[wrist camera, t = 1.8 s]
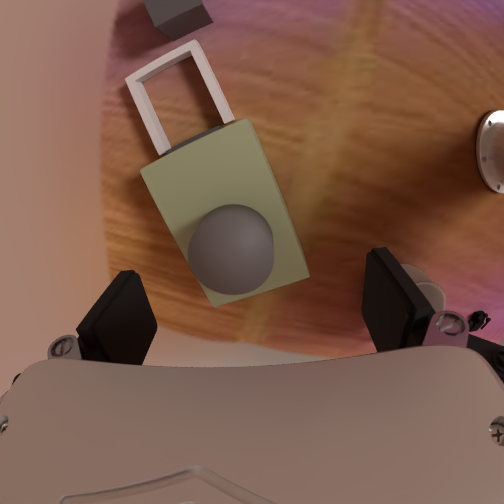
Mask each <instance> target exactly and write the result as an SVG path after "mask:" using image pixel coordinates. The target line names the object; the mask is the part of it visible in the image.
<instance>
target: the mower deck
mask: <svg viewBox="0 0 504 504" xmlns="http://www.w3.org/2000/svg"><path fill="white" fill-rule="evenodd" d="M190 56H193V58H194V60H195V62H196V64H197V66H198V68H199V70H200V72H201V74H202V77H203V79H204V81H205V83H206V85H207V87H208V89H209V91H210V94H211V96H212V98H213V100H214V102H215V104H216V107H217V109H218V111H219V113H220V115H221V117H222V120H223V122H224V124H228V123H230V122H232V121H235V118H234V116H233V114H232V112H231V110H230V107H229V105H228V103H227V101H226V99H225V96H224V94H223V92H222V90H221V88H220V86H219V84H218V81H217V79H216V77H215V75H214V73H213V71H212V69H211V67H210V65H209V63H208V60H207V58H206V56H205V54H204V52H203V50H202V48H201V46H200V44H199V43H198V42H197V41H196V40H192V41H190V42H188V43H186V44H184V45H182V46H180V47H178V48H176V49H174V50H173V51H171V52H169V53H167V54H165V55H163V56H161V57H160V58H158V59H156V60H154V61H153V62H151V63H149V64H148V65H146V66H144V67H143V68H141V69H139V70H138V71H136V72H135V73H133V74H131V75H130V76H128V77H127V78H125V81H126V83H127V85H128V88H129V90H130V92H131V95H132V97H133V99H134V102H135V104H136V106H137V108H138V111H139V113H140V115H141V117H142V120H143V122H144V124H145V126H146V128H147V131H148V133H149V135H150V137H151V139H152V141H153V144H154V146H155V148H156V150H157V152H158V154H159V155H162V154H165V153H166V154H167V155H166V156H164V157H162V158H160V159H158V160H157V161H155V162H153V163H151V164H149V165H147V166H146V167H144V168H142V169H140V170H139V171H140V173H141V175H142V177H143V179H144V181H145V183H146V185H147V187H148V189H149V191H150V193H151V195H152V197H153V199H154V201H155V203H156V205H157V207H158V209H159V211H160V213H161V215H162V217H163V219H164V221H165V222H166V224H167V226H168V228H169V230H170V232H171V234H172V236H173V237H174V239H175V241H176V243H177V245H178V247H179V248H180V250H181V252H182V254H183V256H184V257H185V259H186V261H187V263H188V265H189V266H190V268H191V270H192V272H193V274H194V275H195V277H196V279H197V280H198V282H199V284H200V286H201V287H202V289H203V291H204V292H205V294H206V296H207V297H208V299H209V301H210V302H211V304H212V306H213V307H217V306H220V305H224V304H227V303H231V302H234V301H237V300H240V299H244V298H247V297H250V296H253V295H257V294H260V293H263V292H266V291H269V290H272V289H276V288H279V287H282V286H285V285H288V284H291V283H294V282H297V281H300V280H303V279H306V278H309V277H310V275H309V271H308V266H307V262H306V258H305V255H304V252H303V250H302V247H301V244H300V241H299V239H298V236H297V233H296V231H295V228H294V225H293V223H292V220H291V218H290V215H289V212H288V210H287V207H286V205H285V202H284V200H283V197H282V195H281V192H280V190H279V187H278V185H277V182H276V180H275V177H274V175H273V172H272V170H271V168H270V165H269V163H268V160H267V158H266V156H265V153H264V151H263V148H262V146H261V144H260V141H259V139H258V137H257V134H256V132H255V130H254V128H253V125H252V123H251V121H250V119H248V118H245V119H243V120H241V121H238V122H236V123H233V124H231V125H229V126H226V127H224V128H223V127H222V126H216V127H214V128H211V129H209V130H207V131H205V132H203V133H201V134H199V135H196V136H194V137H192V138H190V139H188V140H186V141H184V142H182V143H180V144H178V145H176V146H174V147H172V148H171V146H170V143H169V141H168V139H167V137H166V135H165V133H164V131H163V128H162V126H161V124H160V122H159V120H158V117H157V115H156V113H155V111H154V109H153V106H152V104H151V102H150V100H149V98H148V95H147V93H146V91H145V89H144V86H143V84H142V82H144V81H146V80H147V79H149V78H151V77H152V76H154V75H156V74H158V73H159V72H161V71H163V70H165V69H166V68H168V67H170V66H172V65H174V64H176V63H178V62H180V61H182V60H184V59H186V58H188V57H190Z"/></svg>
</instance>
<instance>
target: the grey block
mask: <svg viewBox="0 0 504 504" xmlns="http://www.w3.org/2000/svg"><path fill="white" fill-rule="evenodd" d="M143 2H144V5H145V7H146V9H147V11H148V13H149V15H150V17H151V19H152V22H153V24H154V26H155V27H156V28H157V29H158V30H160V31H161V32H162V33H164V34H165V35H166V36H168V37H169V38H170V39H172V40H173V41H175V40H177V39H179V38H181V37H183V36H185V35H187V34H189V33H191V32H193V31H195V30H197V29H199V28H202V27H204V26H206V25H208V24H211V23H213V21H212V19H211V17H210V15H209V13H208V12H207V10H206V8H205V6H204V4H203V2H202V1H201V0H143Z"/></svg>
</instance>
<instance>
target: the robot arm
mask: <svg viewBox="0 0 504 504" xmlns="http://www.w3.org/2000/svg"><path fill="white" fill-rule="evenodd" d="M476 156H477V163H478V167H479V171H480V173H481V176H482V178H483V180H484V181H485V183H486V184H487V185H488V187H490V188H491V189H492V190H494V191H496V192H498V193H504V111H503V110H493V111H491V112H489V113H488V114H487V115H486V116H485V117H484V118H483V120H482V122H481V124H480V126H479V129H478V134H477V140H476ZM362 316H363V318H364V321H365V323H366V325H367V328H368V330H369V332H370V335H371V337H372V340H373V342H374V345H375V347H376V350H377V352H376V353H371V354H365V355H359V356H352V357H345V358H338V359H331V360H323V361H314V362H305V363H294V364H282V365H268V366H252V367H251V366H250V367H214V368H198V367H196V368H193V367H163V366H144V365H142V364H143V361H144V359H145V356H146V354H147V352H148V349H149V347H150V345H151V342H152V340H153V338H154V336H155V334H156V331H157V322H156V319H155V317H154V314H153V312H152V309H151V306H150V304H149V301H148V298H147V295H146V293H145V290H144V287H143V284H142V281H141V278H140V276H139V274H138V273H136V272H135V271H134V270H127V271H121V272H120V273H119V274H118V275H117V276H116V277H115V279H114V280H113V281H112V282H111V284H110V285H109V286H108V287H107V289H106V290H105V291H104V293H103V294H102V295H101V296H100V298H99V299H98V300H97V302H96V303H95V304H94V305H93V307H92V308H91V309H90V311H89V312H88V314H87V315H86V316H85V318H84V319H83V320H82V322H81V323H80V324H79V326H78V327H77V328H76V331H77V333H78V334H79V337H78V338H76V337H75V336H73V335H65V336H61V337H60V338H58V339H56V340H55V341H54V342H53V343H52V344H51V345H50V347H49V349H48V360H44V361H40V362H37V363H34V364H32V365H30V366H28V367H27V368H26V369H25V370H24V371H23V372H22V373H20V374H18V375H17V376H16V377H15V378H14V381H13V383H12V386H11V388H10V389H9V390H8V391H7V392H6V393H5V394H4V395H3V396H1V397H0V504H504V346H501V345H498V344H496V343H493V342H490V341H487V340H485V339H482V338H479V337H476V336H474V335H471V334H469V324H468V322H467V320H466V319H465V318H464V317H463V316H462V315H460V314H459V313H456V312H454V311H448V310H445V311H439V312H437V313H436V312H435V310H434V309H433V307H432V305H431V304H430V302H429V301H428V300H427V298H426V297H425V296H424V294H423V293H422V292H421V290H420V289H419V288H418V286H417V285H416V284H415V282H414V281H413V280H412V279H411V277H410V276H409V275H408V274H407V272H406V271H405V270H404V269H403V267H402V266H401V265H400V264H399V262H398V261H397V260H396V259H395V258H394V256H393V255H392V254H391V253H390V252H389V250H388V249H387V248H386V247H382V248H372V249H371V252H368V253H367V257H366V270H365V281H364V291H363V300H362Z"/></svg>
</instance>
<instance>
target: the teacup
mask: <svg viewBox="0 0 504 504" xmlns="http://www.w3.org/2000/svg"><path fill="white" fill-rule="evenodd" d="M400 265H401V266H402V267H403V269H404V270H405V271H406V272H407V274H408V275H409V276H410V277H411V279H412V280H413V281H414V282H415V284H416V285H417V286H418V288H419V289H420V290H421V292H422V293H423V294H424V296H425V297H426V298H427V300H428V301H429V302H430V304H431V305H432V307H433V309H434V310H435V312H436V313H437V312H439V311H444V309H445V303H446V301H445V295H444V292H443V290H442V289H441V287H439V286H438V285H437V284H435V283H434V282H433V281H432V280H431V279H430V278H429V277H428V276H427V275H426V274H425V273H424V272H422V271H421V270H420V269H418V268H417V267H415V266H412V265H409V264H400Z"/></svg>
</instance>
